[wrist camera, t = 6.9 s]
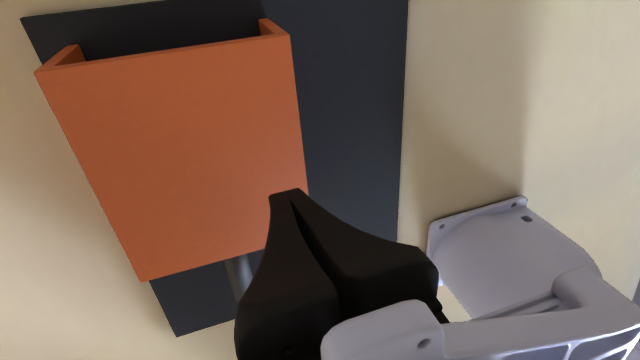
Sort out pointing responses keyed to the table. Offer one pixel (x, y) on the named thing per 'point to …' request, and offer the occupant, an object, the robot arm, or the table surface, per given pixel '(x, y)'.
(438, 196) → the table surface
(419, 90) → the table surface
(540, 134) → the table surface
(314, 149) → the mat
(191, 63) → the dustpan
